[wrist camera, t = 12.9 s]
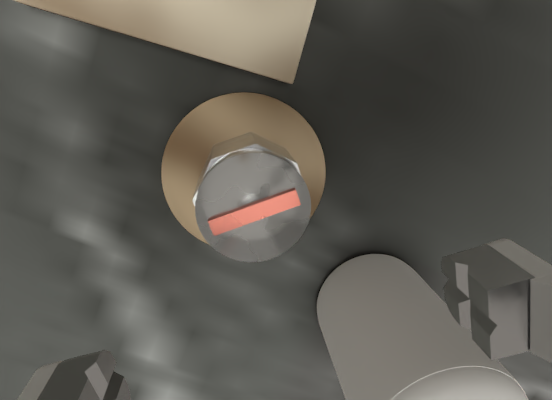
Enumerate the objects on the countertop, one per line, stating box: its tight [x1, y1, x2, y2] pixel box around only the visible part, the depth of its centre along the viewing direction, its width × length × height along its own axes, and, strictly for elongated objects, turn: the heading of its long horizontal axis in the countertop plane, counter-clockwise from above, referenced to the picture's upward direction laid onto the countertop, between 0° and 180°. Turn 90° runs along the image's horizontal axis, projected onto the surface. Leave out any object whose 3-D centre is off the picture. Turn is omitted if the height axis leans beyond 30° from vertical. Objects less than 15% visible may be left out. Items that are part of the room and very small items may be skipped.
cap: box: [192, 132, 311, 262], centre depth 20 cm, size 6×6×6 cm
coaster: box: [161, 92, 326, 244], centre depth 23 cm, size 10×10×1 cm
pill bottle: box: [317, 254, 528, 400], centre depth 21 cm, size 8×8×15 cm
